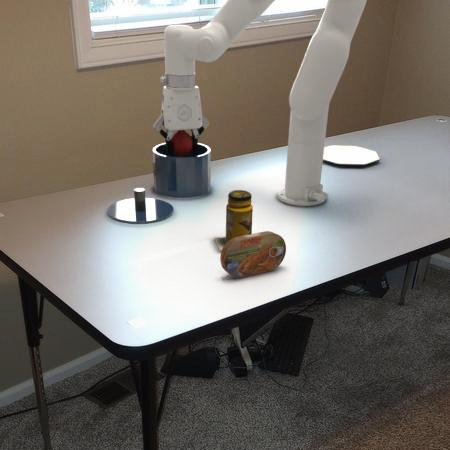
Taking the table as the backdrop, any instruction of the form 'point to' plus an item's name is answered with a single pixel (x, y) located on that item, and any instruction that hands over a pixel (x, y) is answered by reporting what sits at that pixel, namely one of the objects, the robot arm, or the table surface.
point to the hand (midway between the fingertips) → (182, 153)
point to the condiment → (237, 216)
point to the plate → (349, 155)
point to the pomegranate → (182, 143)
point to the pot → (182, 172)
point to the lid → (140, 209)
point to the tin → (253, 254)
